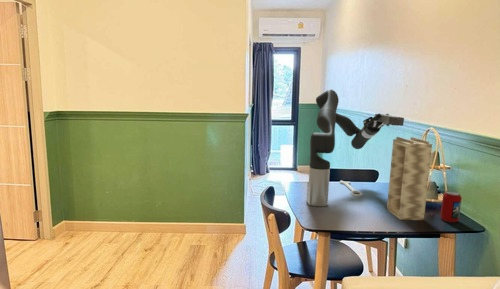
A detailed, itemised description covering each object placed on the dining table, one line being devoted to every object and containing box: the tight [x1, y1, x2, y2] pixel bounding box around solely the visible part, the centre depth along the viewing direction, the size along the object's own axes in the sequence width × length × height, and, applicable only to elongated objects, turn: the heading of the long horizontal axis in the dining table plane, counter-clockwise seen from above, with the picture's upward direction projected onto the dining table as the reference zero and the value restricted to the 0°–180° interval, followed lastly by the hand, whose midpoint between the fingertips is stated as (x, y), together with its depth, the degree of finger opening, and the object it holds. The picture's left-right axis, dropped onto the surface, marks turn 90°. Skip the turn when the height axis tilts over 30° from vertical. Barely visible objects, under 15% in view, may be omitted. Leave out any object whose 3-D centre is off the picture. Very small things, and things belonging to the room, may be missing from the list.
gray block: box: [374, 113, 405, 127], centre depth 167 cm, size 5×22×4 cm, turn 3°
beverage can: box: [440, 190, 462, 223], centre depth 146 cm, size 7×7×12 cm
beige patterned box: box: [386, 136, 433, 221], centre depth 150 cm, size 10×13×33 cm
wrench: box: [339, 180, 363, 197], centre depth 192 cm, size 28×2×6 cm
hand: (383, 115), depth 171 cm, fingers closed on gray block, 3 cm apart
